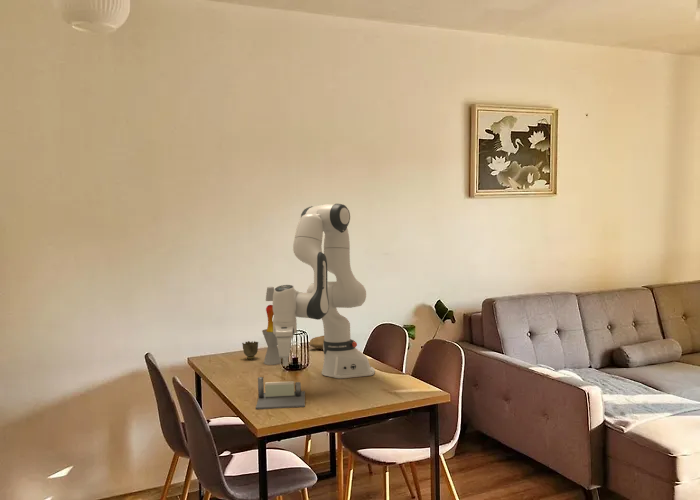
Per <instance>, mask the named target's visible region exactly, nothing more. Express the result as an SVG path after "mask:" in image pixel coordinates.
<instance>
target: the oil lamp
mask: <svg viewBox="0 0 700 500" xmlns="http://www.w3.org/2000/svg"><path fill="white" fill-rule="evenodd" d="M323 343H324V335H320V336H315V337H312V338H311V339H310V340H309V342H308V345H309V346H310V347H312V348H314V349H319V350H321V349H323Z"/></svg>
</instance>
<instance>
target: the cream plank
mask: <svg viewBox="0 0 700 500" xmlns="http://www.w3.org/2000/svg"><path fill="white" fill-rule="evenodd" d="M294 392H295V381H294V380H292V381H291V380H290V381H270V382H267V381H266V382H264V393H265V397H271V396H292V395H295V394H294Z"/></svg>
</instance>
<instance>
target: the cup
mask: <svg viewBox="0 0 700 500" xmlns="http://www.w3.org/2000/svg"><path fill="white" fill-rule="evenodd" d="M241 343H242V349H243V354H244V355H245V356H246V358H247V360H249V359H250V361H251V359H252V360H254V359H255V358H256V355H257V354H258V347H259V341H255V340H254V341H249V340H248V341H245V343H244V342H241Z"/></svg>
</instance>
